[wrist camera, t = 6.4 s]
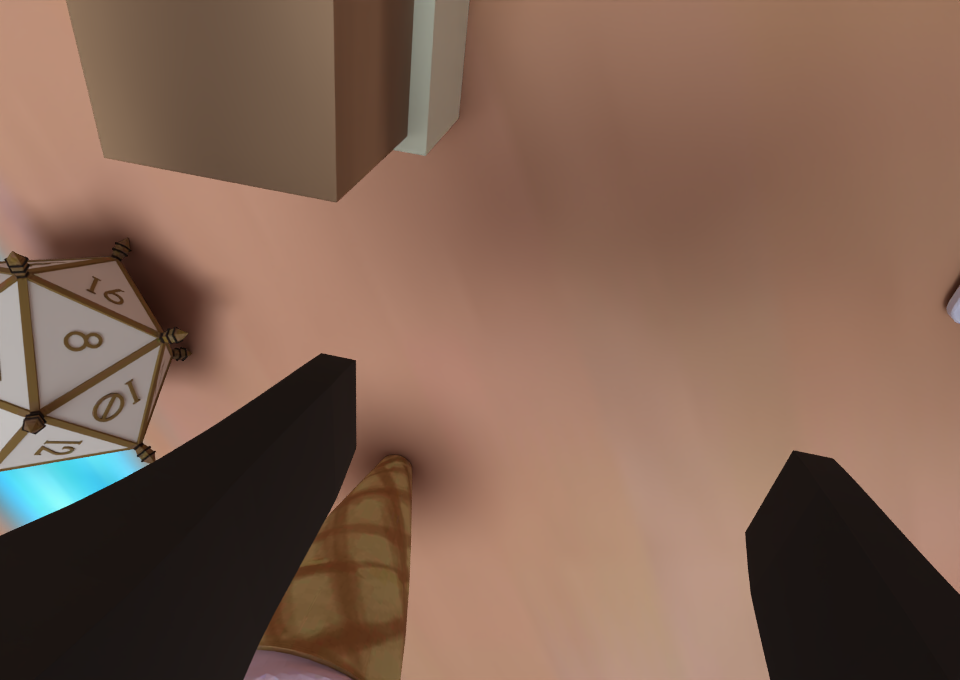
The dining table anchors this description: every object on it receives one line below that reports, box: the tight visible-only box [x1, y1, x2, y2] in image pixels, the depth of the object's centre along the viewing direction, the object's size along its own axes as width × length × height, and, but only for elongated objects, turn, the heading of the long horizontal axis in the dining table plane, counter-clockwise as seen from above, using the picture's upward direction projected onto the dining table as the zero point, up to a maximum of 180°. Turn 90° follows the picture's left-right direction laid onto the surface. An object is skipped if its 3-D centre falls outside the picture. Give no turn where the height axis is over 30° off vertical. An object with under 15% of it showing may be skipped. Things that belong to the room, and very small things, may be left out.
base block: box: [393, 0, 470, 156], centre depth 15 cm, size 6×6×4 cm
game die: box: [0, 238, 192, 472], centre depth 21 cm, size 9×8×10 cm
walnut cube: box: [66, 0, 414, 202], centre depth 11 cm, size 4×4×4 cm
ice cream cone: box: [244, 455, 412, 680], centre depth 20 cm, size 7×6×15 cm
